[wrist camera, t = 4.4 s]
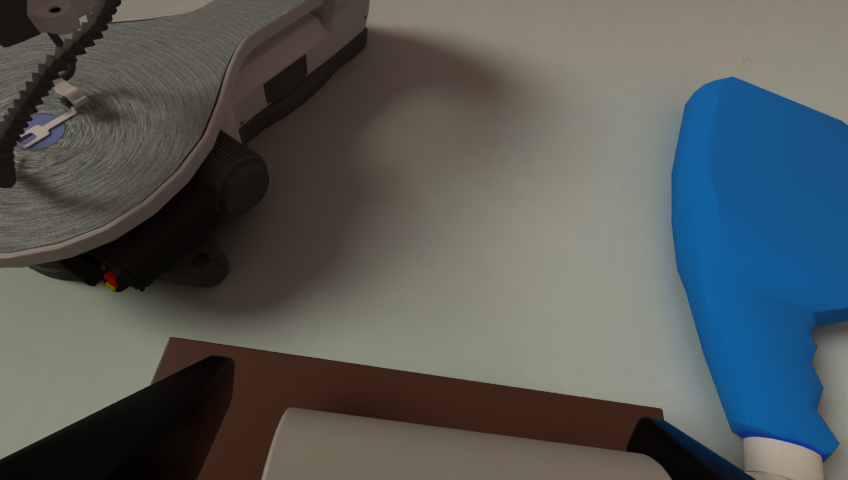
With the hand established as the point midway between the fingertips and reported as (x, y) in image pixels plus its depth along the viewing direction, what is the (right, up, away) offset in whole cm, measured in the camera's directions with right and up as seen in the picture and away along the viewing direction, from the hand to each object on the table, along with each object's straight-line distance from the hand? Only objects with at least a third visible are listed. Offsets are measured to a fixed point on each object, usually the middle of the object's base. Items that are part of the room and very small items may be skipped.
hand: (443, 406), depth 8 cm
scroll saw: (-10, +9, +11) cm, 17 cm away
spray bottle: (+16, 0, +12) cm, 20 cm away
